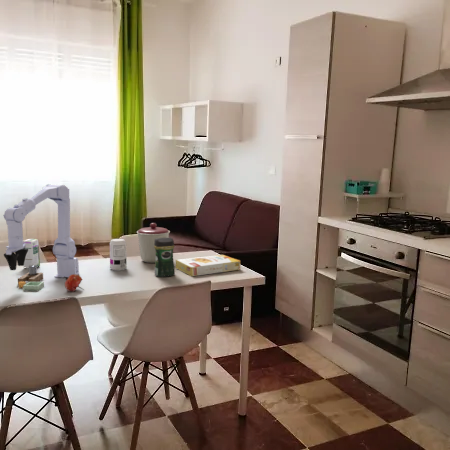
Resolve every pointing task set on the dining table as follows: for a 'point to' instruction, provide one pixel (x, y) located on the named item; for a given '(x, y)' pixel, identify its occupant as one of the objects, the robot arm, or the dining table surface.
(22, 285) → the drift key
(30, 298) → the dining table surface
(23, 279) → the socket block
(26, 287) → the tray
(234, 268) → the cereal box
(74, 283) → the pomegranate
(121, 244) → the supplement can
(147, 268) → the dining table surface
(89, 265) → the dining table surface
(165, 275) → the coffee jar
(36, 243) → the syrup box
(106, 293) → the dining table surface
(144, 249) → the canister
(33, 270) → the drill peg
